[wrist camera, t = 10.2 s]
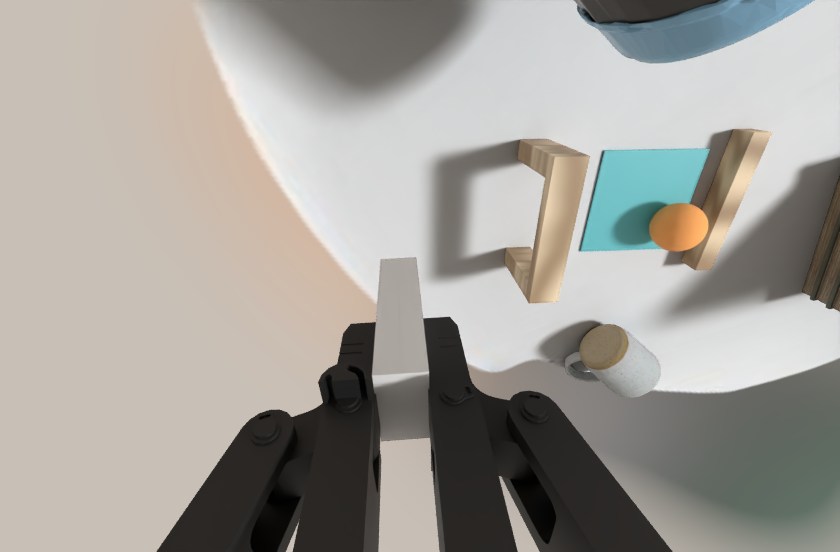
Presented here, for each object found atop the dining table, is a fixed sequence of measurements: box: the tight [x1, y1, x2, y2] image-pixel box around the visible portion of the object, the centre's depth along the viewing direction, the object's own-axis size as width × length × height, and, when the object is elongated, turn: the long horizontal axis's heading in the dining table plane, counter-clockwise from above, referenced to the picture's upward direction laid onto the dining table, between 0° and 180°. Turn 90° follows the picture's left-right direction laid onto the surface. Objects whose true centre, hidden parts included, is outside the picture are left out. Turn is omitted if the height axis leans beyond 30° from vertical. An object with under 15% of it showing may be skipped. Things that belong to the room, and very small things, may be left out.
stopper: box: [682, 129, 772, 270], centre depth 42 cm, size 16×2×2 cm, turn 0°
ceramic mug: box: [565, 324, 661, 398], centre depth 50 cm, size 11×8×8 cm
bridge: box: [504, 139, 590, 303], centre depth 37 cm, size 3×14×9 cm, turn 0°
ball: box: [649, 203, 708, 251], centre depth 41 cm, size 6×6×6 cm
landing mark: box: [580, 149, 710, 252], centre depth 42 cm, size 12×12×1 cm
